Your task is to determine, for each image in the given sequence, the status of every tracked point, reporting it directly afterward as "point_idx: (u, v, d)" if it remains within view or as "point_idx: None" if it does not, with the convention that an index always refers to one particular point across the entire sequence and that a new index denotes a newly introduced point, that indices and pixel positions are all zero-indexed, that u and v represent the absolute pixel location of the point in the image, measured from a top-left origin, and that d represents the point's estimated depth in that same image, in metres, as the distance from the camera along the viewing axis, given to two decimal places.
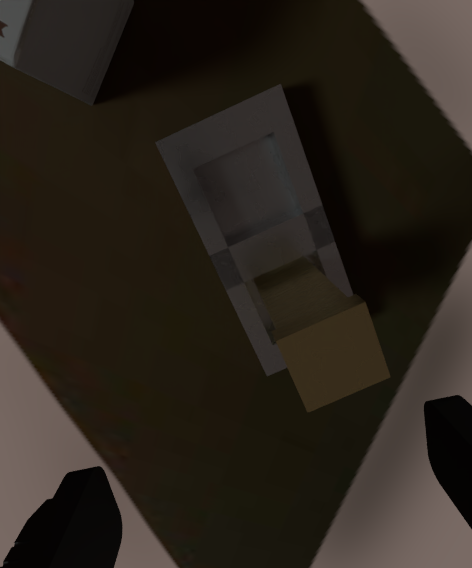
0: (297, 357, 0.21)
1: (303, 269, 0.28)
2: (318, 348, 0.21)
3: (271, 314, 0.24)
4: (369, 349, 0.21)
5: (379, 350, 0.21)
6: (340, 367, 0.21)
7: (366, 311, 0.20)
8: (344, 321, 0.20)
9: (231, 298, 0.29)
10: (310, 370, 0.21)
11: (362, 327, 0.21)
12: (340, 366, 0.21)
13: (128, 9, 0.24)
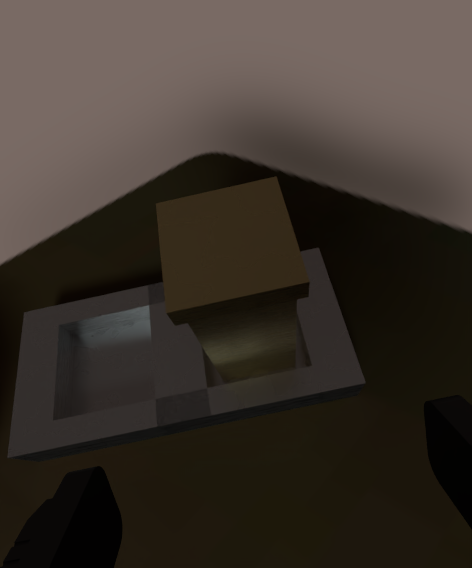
0: (203, 286, 0.14)
1: None
2: (199, 258, 0.14)
3: None
4: (224, 199, 0.16)
5: (230, 188, 0.16)
6: (240, 233, 0.15)
7: (169, 202, 0.16)
8: (172, 226, 0.15)
9: (224, 410, 0.21)
10: (232, 271, 0.14)
11: (189, 206, 0.16)
12: (238, 233, 0.15)
13: None
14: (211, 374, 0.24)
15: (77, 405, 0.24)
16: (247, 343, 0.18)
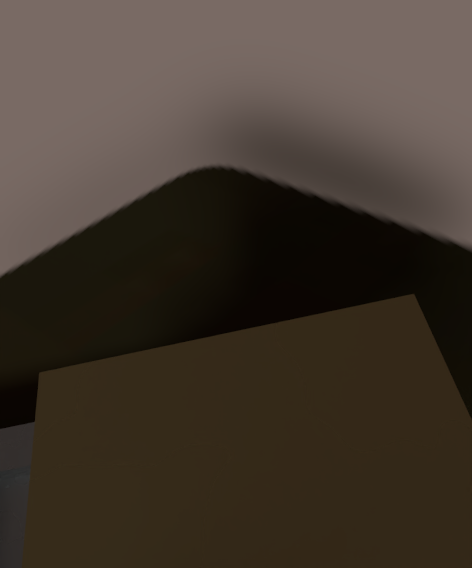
0: None
1: None
2: None
3: None
4: (251, 374, 0.05)
5: (268, 332, 0.05)
6: (317, 543, 0.04)
7: (78, 372, 0.05)
8: (76, 476, 0.05)
9: None
10: None
11: (139, 395, 0.05)
12: (311, 542, 0.04)
13: None
14: None
15: None
16: None
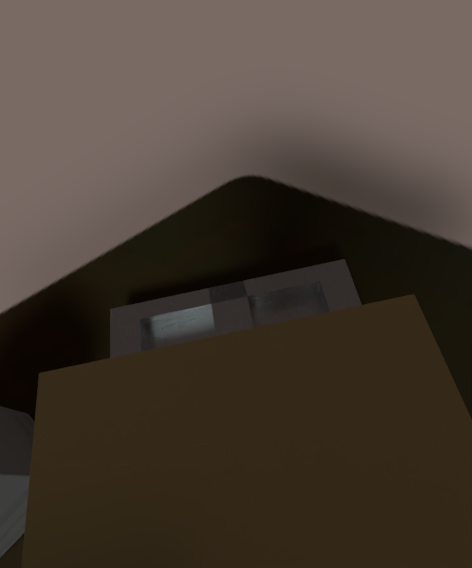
0: None
1: None
2: None
3: None
4: (251, 374, 0.05)
5: (268, 332, 0.05)
6: (316, 544, 0.04)
7: (78, 372, 0.05)
8: (76, 476, 0.05)
9: None
10: None
11: (138, 395, 0.05)
12: (311, 543, 0.04)
13: (27, 417, 0.31)
14: None
15: None
16: None
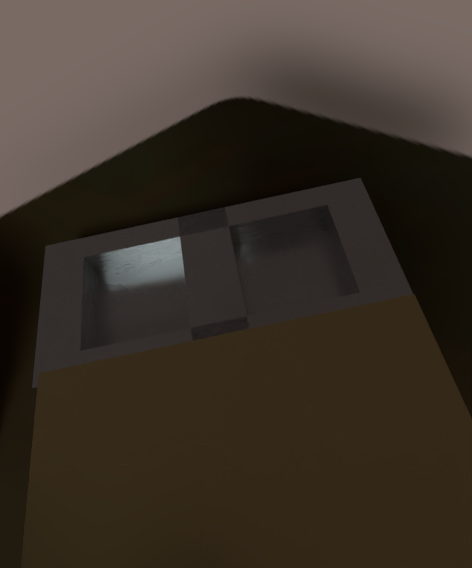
0: None
1: None
2: None
3: None
4: (251, 374, 0.05)
5: (268, 332, 0.05)
6: (318, 545, 0.04)
7: (78, 372, 0.05)
8: (75, 476, 0.05)
9: None
10: None
11: (138, 395, 0.05)
12: (311, 543, 0.04)
13: None
14: (247, 309, 0.22)
15: (103, 341, 0.22)
16: None
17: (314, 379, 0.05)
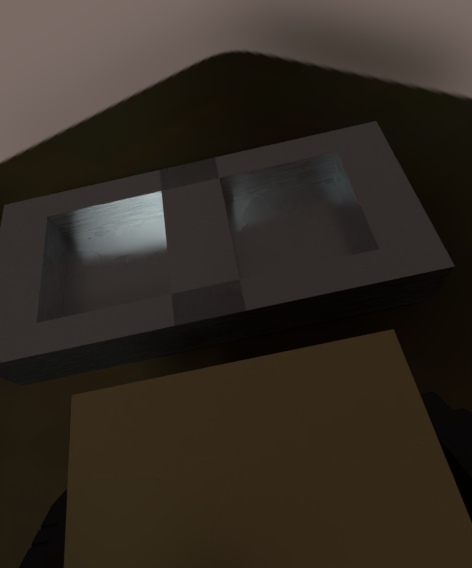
0: None
1: None
2: None
3: None
4: (254, 398, 0.06)
5: (269, 362, 0.06)
6: (309, 543, 0.05)
7: (106, 395, 0.06)
8: (107, 485, 0.05)
9: (264, 304, 0.15)
10: None
11: (158, 416, 0.06)
12: (304, 541, 0.05)
13: None
14: (241, 275, 0.19)
15: (70, 315, 0.19)
16: None
17: (307, 403, 0.06)
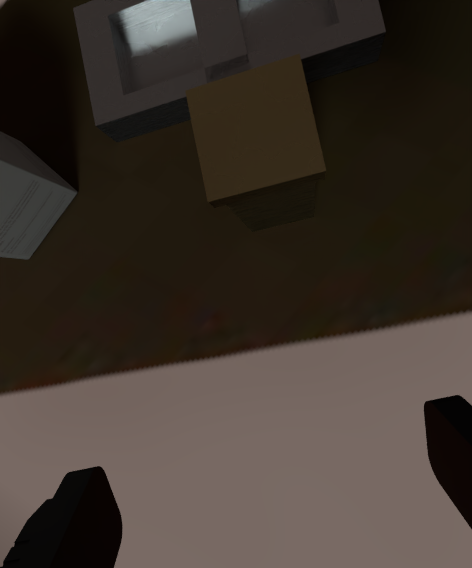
0: (236, 177, 0.17)
1: None
2: (231, 150, 0.17)
3: None
4: (249, 84, 0.17)
5: (254, 70, 0.16)
6: (265, 122, 0.16)
7: (197, 89, 0.17)
8: (203, 116, 0.17)
9: None
10: (260, 162, 0.16)
11: (217, 93, 0.17)
12: (264, 122, 0.16)
13: (18, 141, 0.31)
14: (248, 53, 0.27)
15: None
16: (272, 208, 0.22)
17: (267, 83, 0.16)
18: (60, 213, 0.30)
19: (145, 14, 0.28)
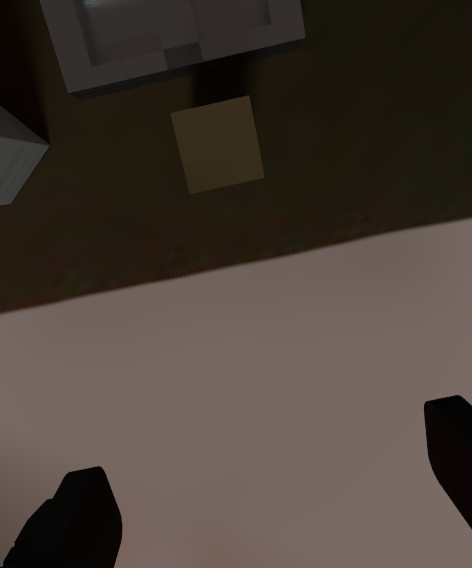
0: (208, 178, 0.26)
1: None
2: (204, 159, 0.25)
3: None
4: (216, 113, 0.25)
5: (219, 104, 0.24)
6: (227, 142, 0.25)
7: (179, 113, 0.25)
8: (184, 133, 0.25)
9: (212, 58, 0.31)
10: (223, 169, 0.26)
11: (193, 118, 0.25)
12: (226, 142, 0.25)
13: None
14: (197, 31, 0.32)
15: (99, 57, 0.33)
16: None
17: (228, 114, 0.25)
18: (36, 164, 0.35)
19: None
